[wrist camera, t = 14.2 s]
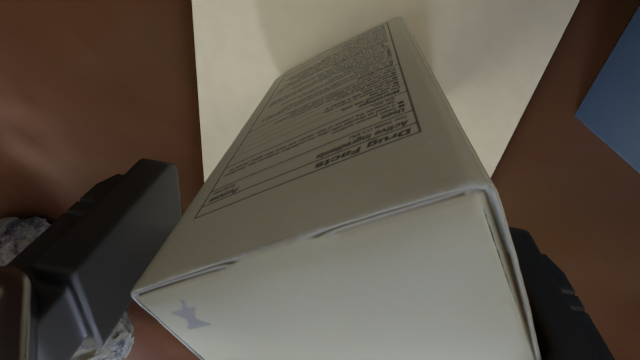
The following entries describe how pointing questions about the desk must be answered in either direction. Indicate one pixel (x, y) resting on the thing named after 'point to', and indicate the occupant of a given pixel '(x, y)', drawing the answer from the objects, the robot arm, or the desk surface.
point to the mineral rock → (13, 237)
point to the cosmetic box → (346, 226)
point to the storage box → (618, 97)
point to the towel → (358, 17)
